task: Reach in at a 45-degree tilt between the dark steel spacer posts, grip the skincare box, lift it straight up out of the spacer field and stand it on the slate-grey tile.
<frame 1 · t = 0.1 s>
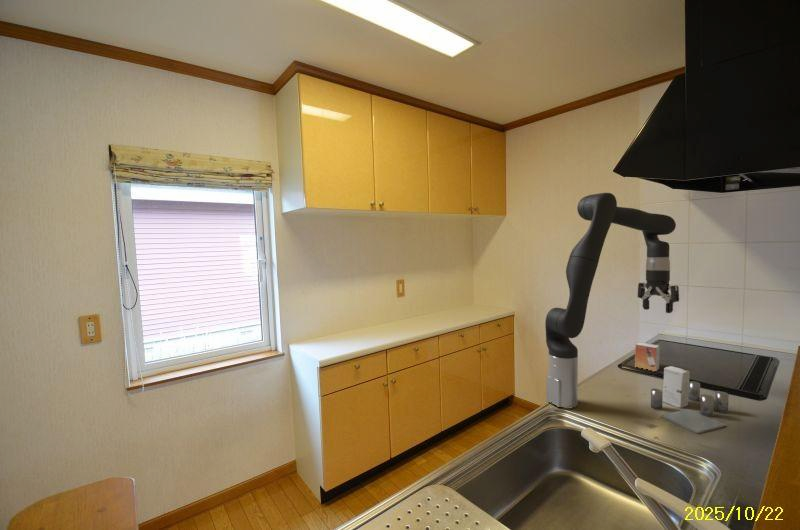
hand: (657, 311, 140), 29 cm above the worktop, tool pointing down, fingers open, 8 cm apart
slate tile: (692, 421, 113), on the worktop
spacer field: (691, 409, 120), on the worktop
skincare box: (675, 404, 125), on the worktop
small box: (646, 368, 160), on the worktop
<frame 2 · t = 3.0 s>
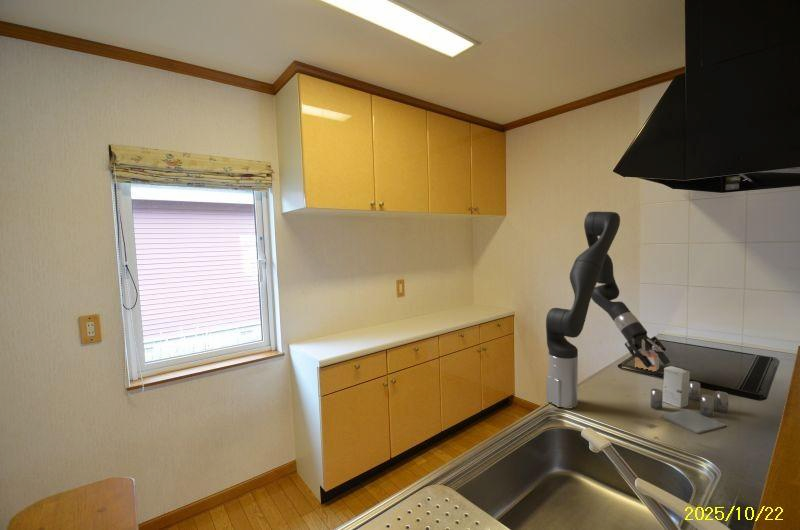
hand: (658, 365, 130), 12 cm above the worktop, tool tilted 45°, fingers open, 8 cm apart
nothing on the worktop moved.
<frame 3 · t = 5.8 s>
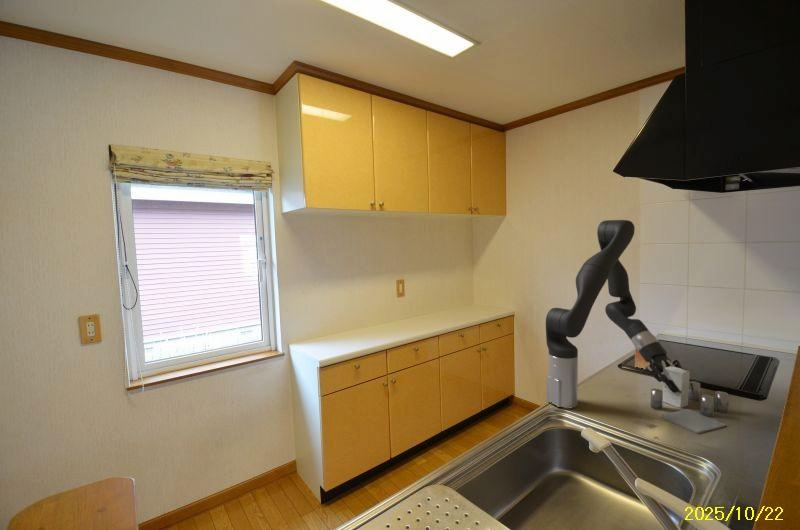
hand: (681, 390, 123), 5 cm above the worktop, tool tilted 45°, fingers closed on skincare box, 4 cm apart
skincare box: (675, 404, 125), on the worktop, touching gripper
everything else where it was.
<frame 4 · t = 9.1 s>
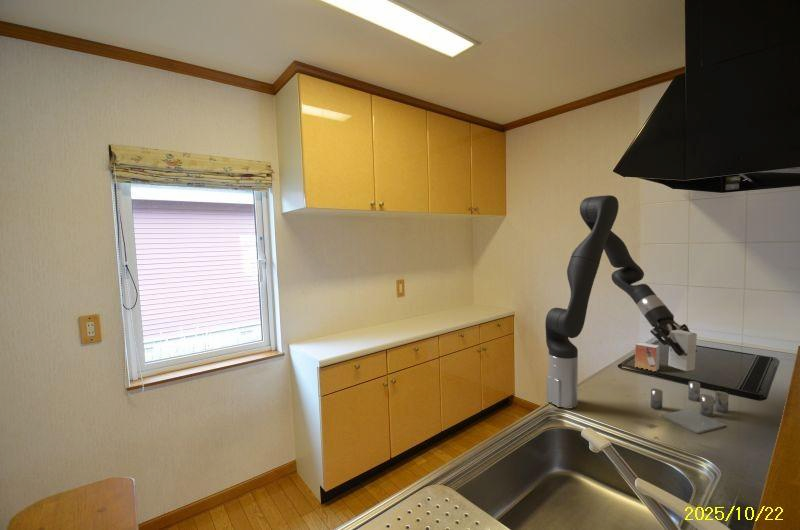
hand: (688, 353, 119), 19 cm above the worktop, tool tilted 45°, fingers closed on skincare box, 4 cm apart
skincare box: (681, 368, 121), point 14 cm above the worktop, touching gripper
everything else where it was.
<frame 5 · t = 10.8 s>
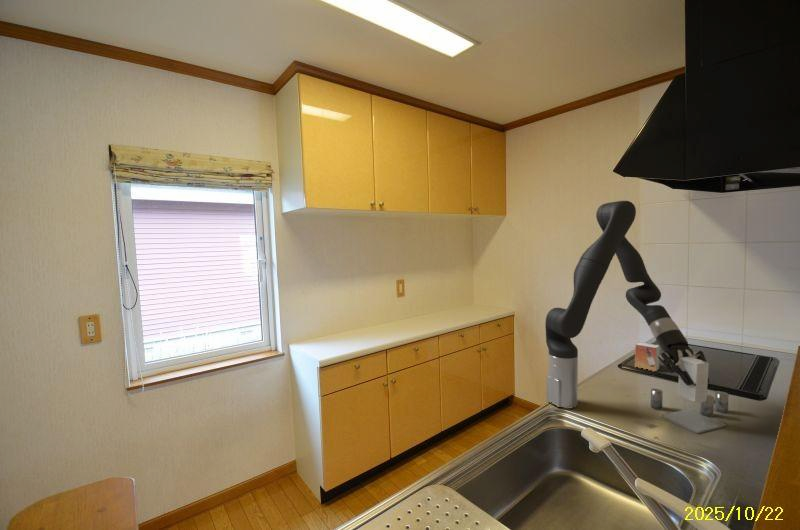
hand: (698, 383, 110), 13 cm above the worktop, tool tilted 45°, fingers closed on skincare box, 4 cm apart
skincare box: (692, 398, 112), point 7 cm above the worktop, touching gripper
everything else where it was.
when the fingers open (7 cm above the worktop, at t = 12.5 s): skincare box drops 1 cm, resting on slate tile.
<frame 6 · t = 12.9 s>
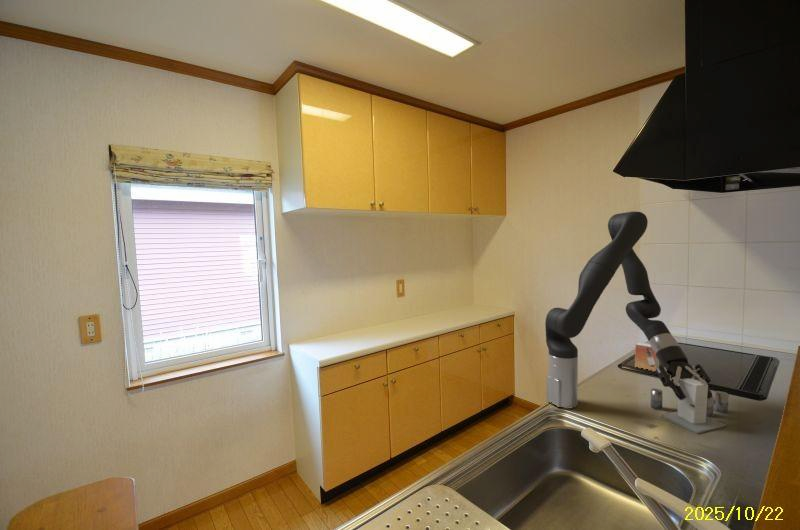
hand: (696, 398, 111), 8 cm above the worktop, tool tilted 45°, fingers open, 8 cm apart
skincare box: (691, 420, 113), resting on slate tile
everything else where it was.
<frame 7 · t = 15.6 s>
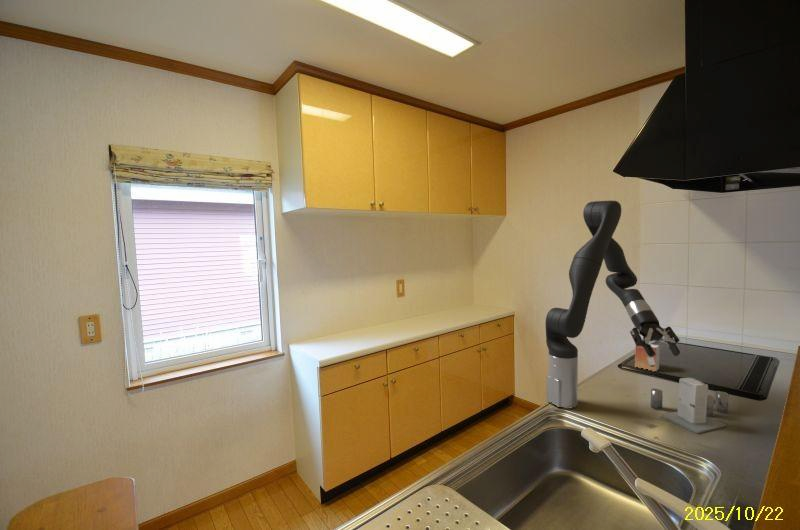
hand: (665, 355, 123), 17 cm above the worktop, tool tilted 45°, fingers open, 8 cm apart
nothing on the worktop moved.
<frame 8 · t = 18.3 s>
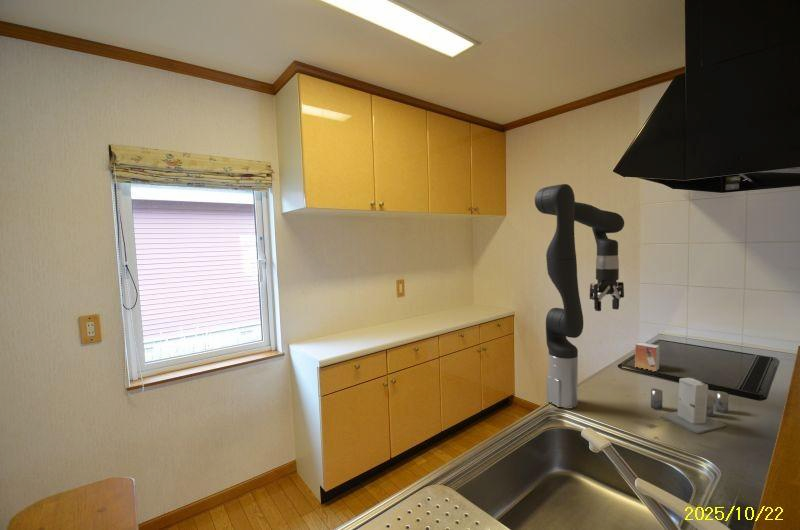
hand: (606, 310, 138), 30 cm above the worktop, tool pointing down, fingers open, 8 cm apart
nothing on the worktop moved.
at the end: skincare box inside the target area on the slate tile (0.2 cm from its centre), point 0.4 cm above the slate tile's base; skincare box tilted 0°; the gripper is holding nothing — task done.
